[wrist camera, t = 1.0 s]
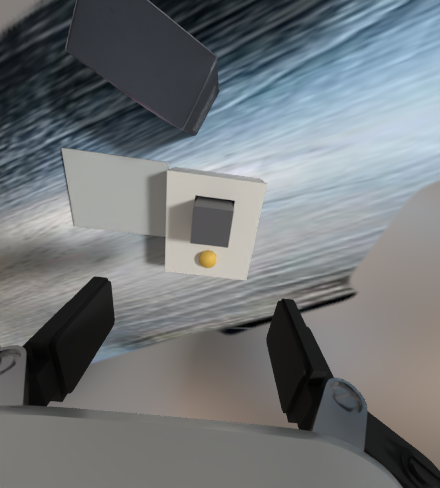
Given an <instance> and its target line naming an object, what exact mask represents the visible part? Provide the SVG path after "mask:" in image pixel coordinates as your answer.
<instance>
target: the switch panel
mask: <svg viewBox="0 0 440 488" xmlns="http://www.w3.org/2000/svg"><path fill="white" fill-rule="evenodd" d="M266 186H267V183H265V182H264V181H263V180H261V179H259V178H252V177H245V176H237V175H230V174H223V173H215V172H208V171H201V170H193V169H186V168H179V167H175V168H172V169H169V170H167V200H166V246H165V271H169V272H178V273H186V274H195V275H204V276H212V277H221V278H230V279H239V280H246V279H247V274H248V270H249V265H250V260H251V256H252V251H253V246H254V242H255V237H256V232H257V228H258V223H259V219H260V214H261V209H262V205H263V200H264V195H265V191H266ZM198 196H204V197H211V198H219V199H227V200H232V204H233V209H234V213H233V220H232V226H231V232H230V238H229V245H228V248H225V247H217V246H209V245H201V244H192V243H190V240H191V227H192V214H193V205H194V203H195V201H196V200H197V198H198Z"/></svg>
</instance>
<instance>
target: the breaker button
mask: <svg viewBox="0 0 440 488" xmlns="http://www.w3.org/2000/svg"><path fill="white" fill-rule="evenodd" d="M233 213H234V209H233V204H232V200H227V199H219V198H211V197H204V196H198V198H197V200H196V201H195V203H194V205H193V214H192V227H191V240H190V243H192V244H201V245H209V246H217V247H225V248H228V245H229V238H230V232H231V226H232V220H233Z"/></svg>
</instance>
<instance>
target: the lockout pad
mask: <svg viewBox="0 0 440 488" xmlns="http://www.w3.org/2000/svg"><path fill="white" fill-rule="evenodd" d="M61 149H62V154H63V160H64V166H65V172H66V178H67V184H68V190H69V196H70V201H71V207H72V213H73V219H74V225H75V226H78V227H87V228H95V229H103V230H111V231H119V232H128V233H136V234H144V235H152V236H160V237H166V200H167V170H169V162H163V161H155V160H148V159H141V158H134V157H126V156H119V155H112V154H104V153H97V152H90V151H82V150H75V149H68V148H61Z"/></svg>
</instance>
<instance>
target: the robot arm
mask: <svg viewBox="0 0 440 488" xmlns="http://www.w3.org/2000/svg"><path fill="white" fill-rule="evenodd" d="M114 321H115V318H114V308H113V297H112V287H111V282H110V281H108V279H107V278H104V277H93V278H92V279H91V280H90V281H89V282H88V283H87V284H86V285H85V286H84V287H83V288H82V289H81V290H80V291H79V292H78V293H77V294H76V295H75V296H74V297H73V298H72V299H71V300H70V301H69V302H67V303H66V304H65V305H64V306H63V307H62V308H61V309H60V310H59V311H58V312H57V313H56V314H55V315H54V316H53V317H52V318H51V319H50V320H49V321H48V322H47V323H46V324H45V325H44V326H43V327H42V328H41V329H40V330H39V331H38V332H37V333H36V334H35V335H34V336H33V337H32V338H30V339H29V340H28V341H27V342H26V343H25V344H24V345H23V346H18V345H14V346H7V347H2V348H0V488H440V471H439V470H438V469H437V467H436V466H435V465H434V464H433V463H432V462H431V461H430V460H429V459H428V458H427V457H425V456H424V455H423V454H422V453H421V452H419V451H418V450H417V449H416V448H414V447H413V446H412V445H410V444H409V443H408V442H406V441H405V440H404V439H403V438H401V437H400V436H399V435H398V434H396V433H395V432H394V431H392V430H391V429H390V428H388V427H387V426H386V425H385V424H383V423H382V422H381V421H379V420H378V419H377V418H376V417H374V416H373V415H372V414H370V413H369V412H368V410H367V404H366V402H365V399H364V398H363V396H362V395H361V393H360V392H359V391H358V390H357V389H356V388H355V387H354V386H353V385H352V384H350V383H349V382H347V381H345V380H343V379H340V378H334V377H333V375H332V373H331V371H330V369H329V367H328V365H327V363H326V360H325V358H324V357H323V354H322V352H321V350H320V348H319V346H318V344H317V342H316V340H315V338H314V336H313V334H312V332H311V330H310V329H309V328H308V327H306V325H305V323H304V320H303V318H302V316H301V314H300V312H299V310H298V308H297V306H296V304H295V301H294V300H291V299H282V300H281V301H278V303H277V306H276V309H275V312H274V315H273V318H272V322H271V325H270V328H269V331H268V334H267V347H268V351H269V355H270V359H271V364H272V368H273V373H274V377H275V382H276V386H277V390H278V394H279V399H280V403H281V408H282V411H283V413H286V415H287V419H288V422H290V423H297V424H298V428H299V429H292V428H283V427H274V426H266V425H257V424H246V423H236V422H225V421H215V420H204V419H193V418H182V417H171V416H159V415H148V414H137V413H124V412H113V411H101V410H88V409H77V408H62V407H47V405H48V404H49V402H50V401H57V402H63V400H64V398H65V397H66V395H67V394H68V393H71V392H72V391H73V390H74V389H75V387H76V385H77V384H78V382H79V381H80V379H81V377H82V376H83V374H84V372H85V371H86V369H87V368H88V366H89V364H90V363H91V361H92V360H93V358H94V356H95V355H96V353H97V351H98V350H99V348H100V347H101V345H102V343H103V342H104V340H105V339H106V337H107V335H108V334H109V332H110V331H111V329H112V327H113V325H114Z"/></svg>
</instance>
